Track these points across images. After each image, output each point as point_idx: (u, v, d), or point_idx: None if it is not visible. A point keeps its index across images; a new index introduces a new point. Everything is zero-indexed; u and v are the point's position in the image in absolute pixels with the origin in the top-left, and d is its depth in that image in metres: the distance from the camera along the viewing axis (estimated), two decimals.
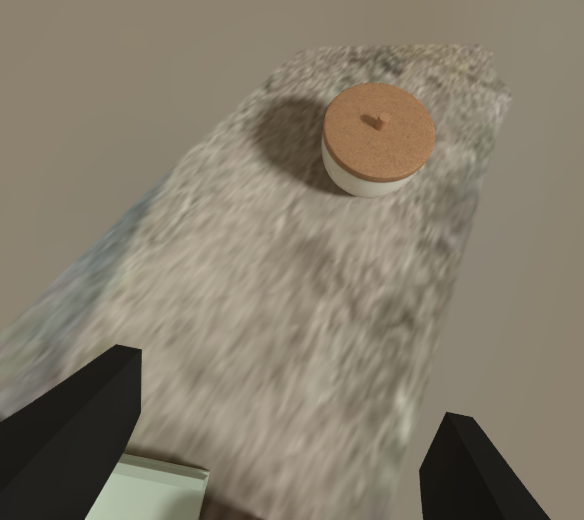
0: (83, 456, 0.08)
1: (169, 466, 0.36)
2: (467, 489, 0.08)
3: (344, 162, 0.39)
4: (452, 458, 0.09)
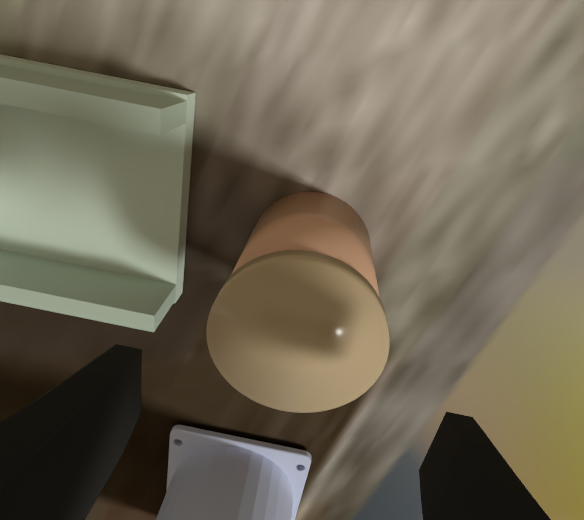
0: (83, 456, 0.08)
1: (97, 81, 0.15)
2: (467, 489, 0.08)
3: None
4: (452, 458, 0.09)
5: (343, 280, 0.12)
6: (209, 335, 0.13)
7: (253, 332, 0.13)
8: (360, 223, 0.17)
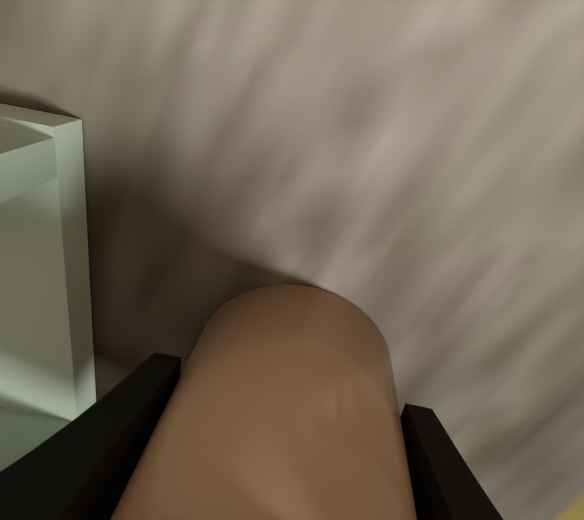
0: (131, 466, 0.08)
1: None
2: (419, 479, 0.08)
3: None
4: (408, 449, 0.09)
5: None
6: None
7: None
8: (376, 344, 0.10)
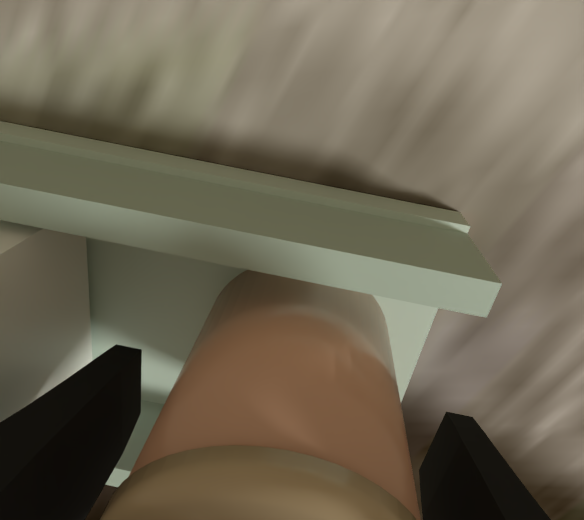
0: (83, 456, 0.08)
1: (334, 204, 0.10)
2: (467, 489, 0.08)
3: None
4: (452, 458, 0.09)
5: None
6: None
7: None
8: (373, 311, 0.11)
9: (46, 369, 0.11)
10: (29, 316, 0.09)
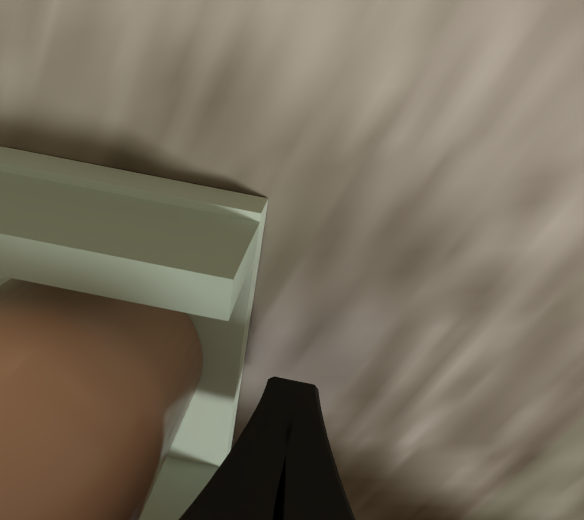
0: None
1: (104, 188, 0.09)
2: None
3: None
4: None
5: None
6: None
7: None
8: (155, 314, 0.09)
9: None
10: None
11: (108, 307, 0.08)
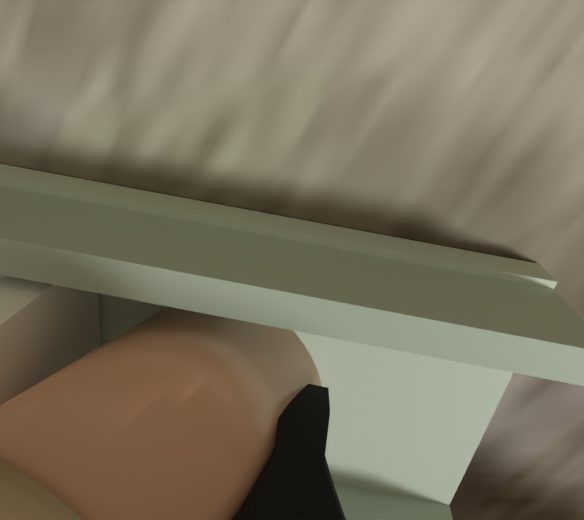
0: None
1: (414, 260, 0.10)
2: None
3: None
4: None
5: None
6: None
7: None
8: (295, 369, 0.09)
9: None
10: (40, 374, 0.09)
11: (260, 353, 0.09)
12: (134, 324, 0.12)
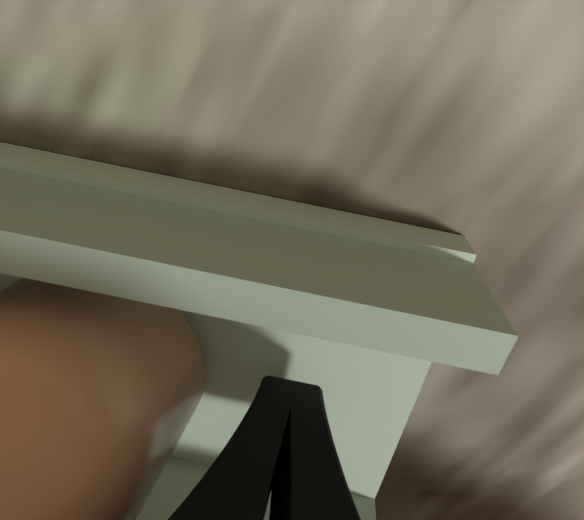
0: (268, 495, 0.08)
1: (315, 227, 0.09)
2: (286, 451, 0.08)
3: None
4: (286, 424, 0.09)
5: None
6: None
7: None
8: (169, 342, 0.09)
9: None
10: None
11: (125, 331, 0.08)
12: None
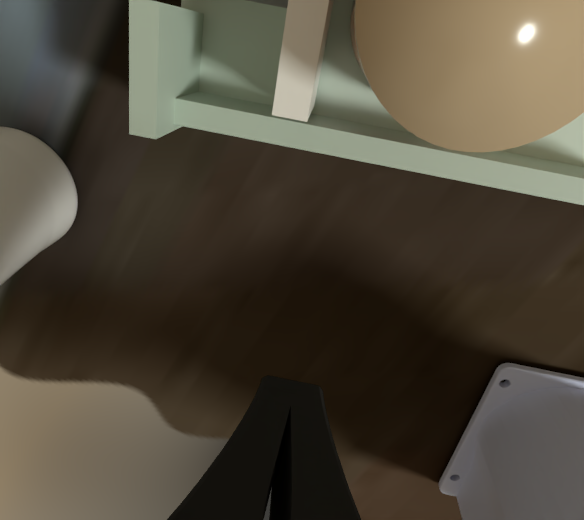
0: (268, 495, 0.08)
1: None
2: (286, 452, 0.08)
3: None
4: (286, 424, 0.09)
5: None
6: None
7: None
8: None
9: (329, 14, 0.12)
10: None
11: None
12: None
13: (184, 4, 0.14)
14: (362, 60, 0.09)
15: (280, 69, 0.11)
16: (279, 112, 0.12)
